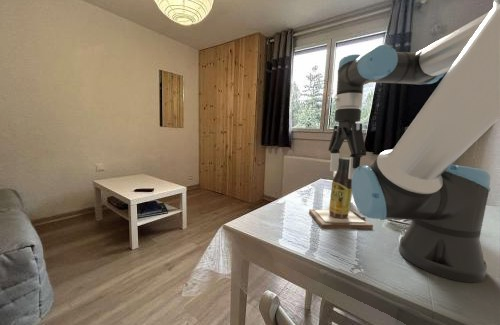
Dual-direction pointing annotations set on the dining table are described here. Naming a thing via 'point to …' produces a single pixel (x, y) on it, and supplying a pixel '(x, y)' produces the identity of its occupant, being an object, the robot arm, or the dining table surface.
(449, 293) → the dining table surface
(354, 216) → the wooden board
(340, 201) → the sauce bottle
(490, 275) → the dining table surface
